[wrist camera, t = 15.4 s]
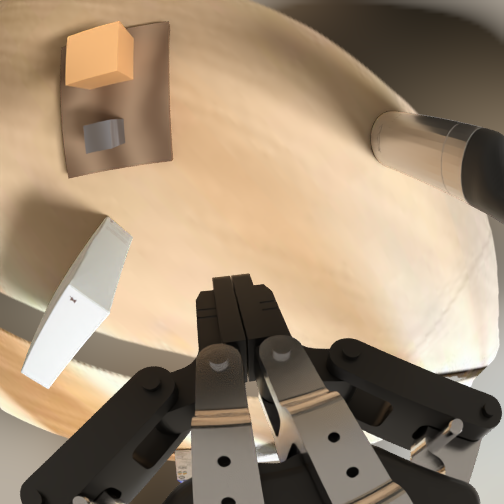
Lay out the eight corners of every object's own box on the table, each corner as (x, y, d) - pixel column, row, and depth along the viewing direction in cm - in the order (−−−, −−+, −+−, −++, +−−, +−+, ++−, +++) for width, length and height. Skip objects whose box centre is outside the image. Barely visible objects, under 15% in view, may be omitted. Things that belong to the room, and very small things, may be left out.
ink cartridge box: (177, 454, 73) (181, 488, 60) (173, 449, 70) (176, 485, 58) (204, 452, 74) (209, 487, 62) (201, 448, 72) (207, 484, 59)
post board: (169, 25, 22) (164, 4, 16) (172, 158, 31) (167, 169, 25) (66, 49, 20) (41, 39, 14) (73, 175, 29) (49, 190, 23)
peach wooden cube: (133, 38, 21) (119, 21, 15) (133, 79, 24) (117, 70, 18) (90, 49, 20) (67, 36, 14) (90, 89, 23) (65, 85, 17)
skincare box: (73, 318, 39) (48, 390, 25) (50, 301, 36) (16, 370, 23) (137, 238, 35) (110, 315, 21) (108, 213, 32) (62, 280, 19)
